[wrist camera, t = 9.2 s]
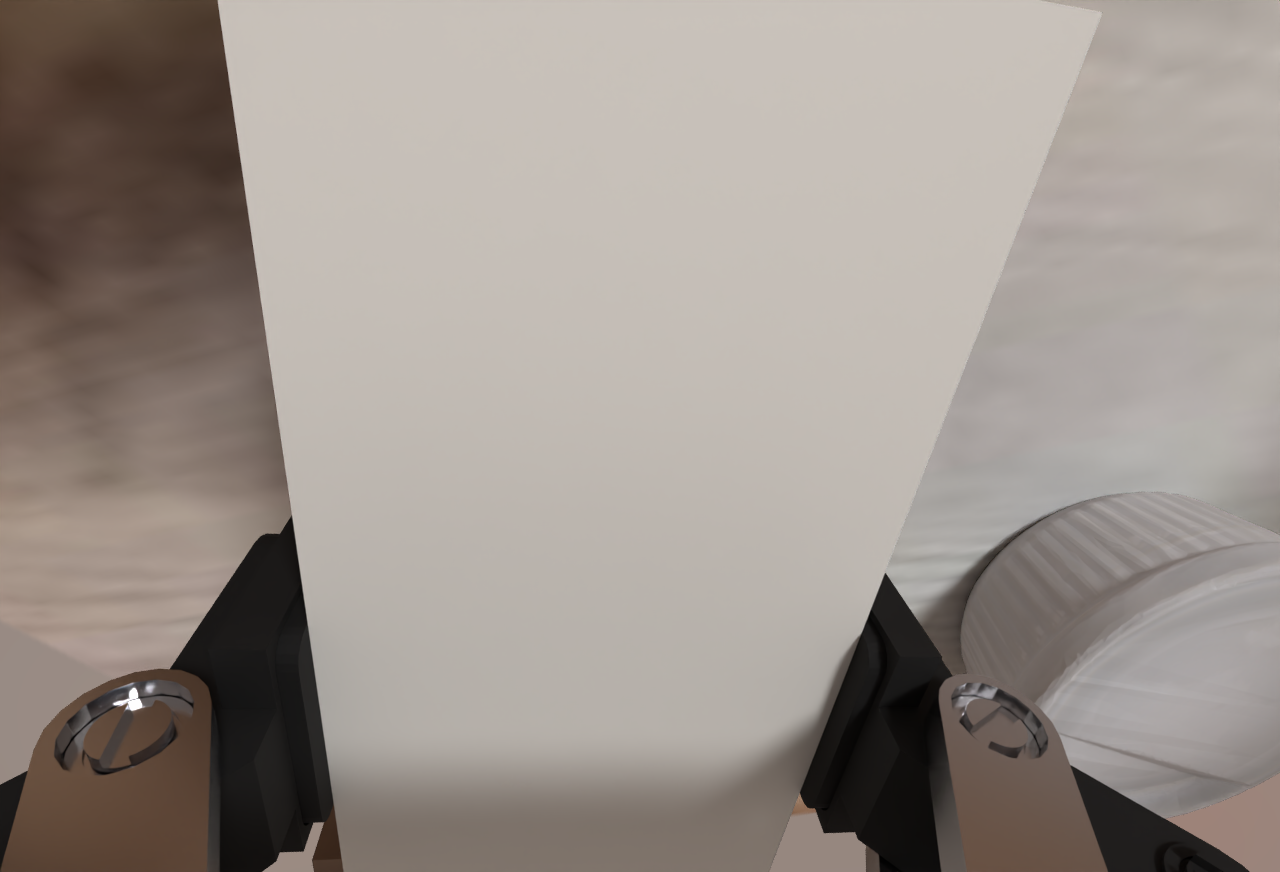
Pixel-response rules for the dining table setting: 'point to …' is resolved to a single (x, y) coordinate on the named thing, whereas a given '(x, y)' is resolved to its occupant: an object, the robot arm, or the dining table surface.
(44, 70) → the dining table surface
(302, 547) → the shelf board
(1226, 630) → the ramekin
